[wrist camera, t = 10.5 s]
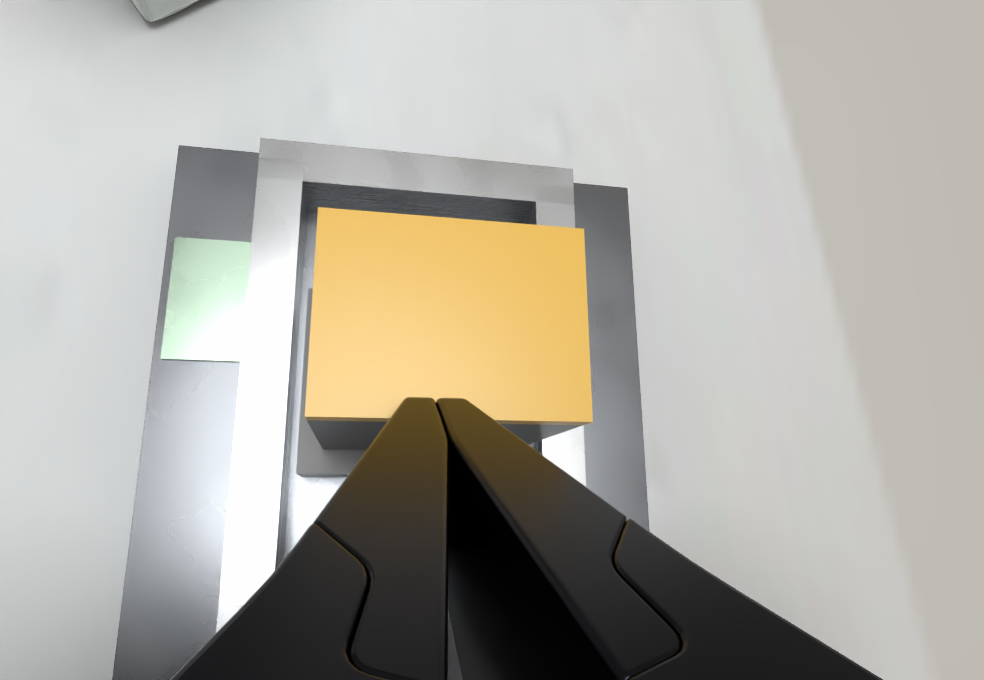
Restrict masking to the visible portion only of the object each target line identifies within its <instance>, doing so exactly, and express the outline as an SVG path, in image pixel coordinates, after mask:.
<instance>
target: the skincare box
mask: <svg viewBox="0 0 984 680" xmlns="http://www.w3.org/2000/svg"><path fill="white" fill-rule="evenodd" d="M131 1H132V2H133V4H134V5H135V6H136V8H137V9H138V10H139V12H140V13H141V14H142V16H143V17H144V18H145V19H146V20H147V21H149V22H154V21H157V20H160V19H163V18H165V17H167V16H170V15H172V14H174V13H176V12H178V11H180V10H182V9H184V8H186V7H188V6H189V5H191V4H193V3H195V2H197V1H199V0H131Z"/></svg>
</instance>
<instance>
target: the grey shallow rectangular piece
mask: <svg viewBox="0 0 984 680" xmlns="http://www.w3.org/2000/svg"><path fill="white" fill-rule="evenodd" d="M318 207H323V208H335V209H348V210H360V211H372V212H385V213H397V214H409V215H422V216H434V217H446V218H459V219H471V220H483V221H496V222H508V223H520V224H533V225H545V226H557V227H570V228H582V229H584V239H585V260H586V282H587V304H588V326H589V348H590V369H591V391H592V413H593V422H591V423H588V424H586V425H583V426H580V427H577V428H574V429H571V430H568V431H566V432H563V433H560V434H557V435H554V436H551V437H548V438H546V439H543V440H540V441H537V442H534V443H532V448H534V449H535V450H536V451H538V452H539V453H540V454H542V455H543V456H545V457H546V458H547V459H549V460H550V461H551V462H553V463H554V464H555V465H557V466H558V467H560V468H561V469H562V470H564V471H565V472H566V473H568V474H569V475H571V476H572V477H573V478H575V479H576V480H577V481H579V482H580V483H582V484H583V485H584V486H586V487H587V488H588V489H590V490H591V491H592V492H594V493H595V494H597V495H598V496H599V497H601V498H602V499H603V500H605V501H606V502H608V503H609V504H610V505H612V506H613V507H614V508H616V509H617V510H619V511H620V512H621V513H623V514H624V515H625V516H626V517H627V520H628V519H633V520H634V521H635V522H637V523H638V524H640V525H641V526H642V527H644V528H645V529H646V530H648V531H649V518H648V503H647V487H646V472H645V456H644V441H643V425H642V410H641V394H640V379H639V363H638V348H637V332H636V317H635V302H634V286H633V271H632V255H631V240H630V224H629V209H628V193H627V188H621V187H610V186H600V185H589V184H579V183H573V169H567V168H557V167H547V166H537V165H527V164H517V163H507V162H497V161H487V160H477V159H467V158H457V157H447V156H436V155H426V154H416V153H406V152H396V151H386V150H376V149H366V148H356V147H346V146H336V145H326V144H316V143H306V142H296V141H286V140H276V139H266V138H261V140H260V151H259V153H254V152H244V151H233V150H223V149H212V148H202V147H191V146H181V145H179V149H178V157H177V165H176V173H175V181H174V189H173V197H172V205H171V213H170V221H169V229H168V237H167V245H166V253H165V261H164V269H163V277H162V285H161V293H160V301H159V309H158V317H157V325H156V333H155V341H154V349H153V357H152V365H151V373H150V381H149V389H148V397H147V405H146V413H145V422H144V430H143V438H142V446H141V454H140V462H139V470H138V478H137V486H136V494H135V502H134V510H133V518H132V526H131V534H130V542H129V550H128V558H127V566H126V574H125V582H124V590H123V598H122V606H121V614H120V622H119V630H118V638H117V646H116V654H115V662H114V670H113V678H112V680H170V679H171V678H172V677H173V676H174V675H175V674H176V673H177V672H178V671H179V670H180V669H181V668H182V667H183V666H184V665H185V664H186V663H187V662H188V661H189V660H190V659H191V658H192V657H193V656H194V655H195V654H196V653H197V652H198V651H199V650H200V649H201V648H202V647H203V646H204V645H205V644H206V643H207V642H208V641H209V640H210V639H211V638H212V637H213V636H214V634H215V633H216V632H217V631H218V630H219V629H220V628H221V627H222V626H223V625H224V624H225V623H226V622H227V621H228V620H229V619H230V618H231V617H232V616H233V615H234V614H235V613H236V612H237V611H238V610H239V609H240V608H241V607H242V606H243V605H244V604H245V603H246V602H247V600H248V599H249V598H250V597H251V596H252V595H253V594H254V593H255V592H256V591H257V590H258V589H259V588H260V587H261V586H262V584H263V583H264V582H265V581H266V580H267V579H268V578H269V577H270V576H271V575H272V573H273V572H274V571H275V570H276V568H277V567H278V566H279V565H280V563H281V562H282V561H283V560H284V558H285V557H286V556H287V555H288V554H289V552H290V551H291V550H292V549H293V547H294V546H295V545H296V543H297V542H298V541H299V539H300V538H301V537H302V535H303V534H304V533H305V531H306V530H307V528H308V527H309V526H310V525H312V524H313V522H314V520H315V519H316V518H317V516H318V515H319V514H320V512H321V511H322V510H323V508H324V507H325V506H326V504H327V503H328V502H329V500H330V499H331V497H332V496H333V495H334V493H335V492H336V491H337V489H338V488H339V487H340V485H341V484H342V483H343V481H344V480H345V479H346V477H301V476H299V475H297V474H296V466H297V450H298V435H299V420H300V405H301V390H302V374H303V359H304V344H305V329H306V314H307V299H308V288H313V278H314V262H315V247H316V231H317V216H318ZM448 680H463V679H462V674H461V669H460V665H459V660H458V655H457V650H456V646H455V641H454V636H453V631H452V627H451V622H450V617H449V612H448Z"/></svg>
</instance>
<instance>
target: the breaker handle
mask: <svg viewBox="0 0 984 680" xmlns="http://www.w3.org/2000/svg"><path fill="white" fill-rule="evenodd" d="M407 397H426V398H433V399H434V400H435V402H436V401H437V400H438V399H439V398H463V399H466V400H468V401H469V402H470V403H472V404H473V405H475V406H476V407H477V408H479V409H480V410H481V411H483V412H484V413H486V414H487V415H488V416H490V417H491V418H492V419H494V420H495V421H497V422H498V423H499V424H501V425H502V426H503V427H505V428H506V429H507V430H509V431H510V432H512V433H513V434H514V435H516V436H517V437H518V438H520V439H521V440H523V441H524V442H525V443H527V444H528V445H529V446H531V447H532V443H534V442H537V441H540V440H543V439H546V438H548V437H551V436H554V435H557V434H560V433H563V432H566V431H568V430H571V429H574V428H577V427H580V426H583V425H586V424H588V423H591V422H593V413H592V391H591V369H590V348H589V326H588V304H587V282H586V260H585V239H584V229H582V228H570V227H557V226H545V225H533V224H520V223H508V222H496V221H483V220H471V219H459V218H446V217H434V216H422V215H409V214H397V213H385V212H372V211H360V210H348V209H335V208H323V207H318V216H317V231H316V247H315V262H314V278H313V288H308V299H307V314H306V329H305V344H304V359H303V374H302V390H301V405H300V420H299V435H298V450H297V466H296V474H297V475H299V476H301V477H347V476H348V474H349V473H350V472H351V470H352V469H353V468H354V466H355V465H356V464H357V462H358V461H359V460H360V458H361V457H362V456H363V454H364V453H365V451H366V450H367V449H368V447H369V446H370V445H371V443H372V442H373V441H374V439H375V438H376V437H377V435H378V434H379V433H380V431H381V430H382V428H383V427H384V426H385V424H386V423H387V422H388V420H389V419H390V418H391V416H392V415H393V414H394V412H395V411H396V410H397V408H398V407H399V405H400V404H401V403H402V401H403V400H404V399H405V398H407Z"/></svg>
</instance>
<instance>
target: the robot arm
mask: <svg viewBox="0 0 984 680" xmlns="http://www.w3.org/2000/svg"><path fill="white" fill-rule="evenodd" d="M448 612H449V617H450V622H451V627H452V631H453V636H454V641H455V646H456V650H457V655H458V660H459V665H460V669H461V674H462V679H463V680H883V679H881V678H879V677H878V676H876V675H874V674H873V673H871V672H870V671H868V670H866V669H865V668H863V667H861V666H860V665H858V664H857V663H855V662H853V661H852V660H850V659H848V658H847V657H845V656H844V655H842V654H840V653H839V652H837V651H835V650H834V649H832V648H831V647H829V646H827V645H826V644H824V643H822V642H821V641H819V640H817V639H816V638H814V637H813V636H811V635H809V634H808V633H806V632H804V631H803V630H801V629H800V628H798V627H796V626H795V625H793V624H791V623H790V622H788V621H787V620H785V619H783V618H782V617H780V616H778V615H777V614H775V613H774V612H772V611H770V610H769V609H767V608H765V607H764V606H762V605H761V604H759V603H757V602H756V601H754V600H752V599H751V598H749V597H747V596H746V595H744V594H743V593H741V592H739V591H738V590H736V589H735V588H733V587H731V586H730V585H728V584H727V583H725V582H724V581H722V580H720V579H719V578H717V577H716V576H714V575H713V574H711V573H709V572H708V571H706V570H705V569H703V568H702V567H700V566H698V565H697V564H695V563H694V562H692V561H691V560H689V559H688V558H686V557H685V556H683V555H682V554H681V553H679V552H678V551H676V550H675V549H673V548H672V547H671V546H669V545H668V544H666V543H665V542H663V541H662V540H660V539H659V538H658V537H656V536H655V535H653V534H652V533H651V532H649V531H648V530H646V529H645V528H644V527H642V526H641V525H640V524H638V523H637V522H635V521H634V520H633V519H628V520H627V517H626V516H625V515H624V514H623V513H621V512H620V511H619V510H617V509H616V508H614V507H613V506H612V505H610V504H609V503H608V502H606V501H605V500H603V499H602V498H601V497H599V496H598V495H597V494H595V493H594V492H592V491H591V490H590V489H588V488H587V487H586V486H584V485H583V484H582V483H580V482H579V481H577V480H576V479H575V478H573V477H572V476H571V475H569V474H568V473H566V472H565V471H564V470H562V469H561V468H560V467H558V466H557V465H555V464H554V463H553V462H551V461H550V460H549V459H547V458H546V457H545V456H543V455H542V454H540V453H539V452H538V451H536V450H535V449H534V448H532V447H531V446H529V445H528V444H527V443H525V442H524V441H523V440H521V439H520V438H518V437H517V436H516V435H514V434H513V433H512V432H510V431H509V430H507V429H506V428H505V427H503V426H502V425H501V424H499V423H498V422H497V421H495V420H494V419H492V418H491V417H490V416H488V415H487V414H486V413H484V412H483V411H481V410H480V409H479V408H477V407H476V406H475V405H473V404H472V403H470V402H469V401H468V400H466V399H463V398H439V399H438V400H437V401H436V402H435V400H434V399H433V398H426V397H407V398H405V399H404V400H403V401H402V403H401V404H400V405H399V407H398V408H397V410H396V411H395V412H394V414H393V415H392V416H391V418H390V419H389V420H388V422H387V423H386V424H385V426H384V427H383V428H382V430H381V431H380V433H379V434H378V435H377V437H376V438H375V439H374V441H373V442H372V443H371V445H370V446H369V447H368V449H367V450H366V451H365V453H364V454H363V456H362V457H361V458H360V460H359V461H358V462H357V464H356V465H355V466H354V468H353V469H352V470H351V472H350V473H349V474H348V476H347V477H346V479H345V480H344V481H343V483H342V484H341V485H340V487H339V488H338V489H337V491H336V492H335V493H334V495H333V496H332V497H331V499H330V500H329V502H328V503H327V504H326V506H325V507H324V508H323V510H322V511H321V512H320V514H319V515H318V516H317V518H316V519H315V520H314V522H313V524H312V525H310V526H309V527H308V528H307V530H306V531H305V533H304V534H303V535H302V537H301V538H300V539H299V541H298V542H297V543H296V545H295V546H294V547H293V549H292V550H291V551H290V552H289V554H288V555H287V556H286V557H285V558H284V560H283V561H282V562H281V563H280V565H279V566H278V567H277V568H276V570H275V571H274V572H273V573H272V575H271V576H270V577H269V578H268V579H267V580H266V581H265V582H264V583H263V584H262V586H261V587H260V588H259V589H258V590H257V591H256V592H255V593H254V594H253V595H252V596H251V597H250V598H249V599H248V600H247V602H246V603H245V604H244V605H243V606H242V607H241V608H240V609H239V610H238V611H237V612H236V613H235V614H234V615H233V616H232V617H231V618H230V619H229V620H228V621H227V622H226V623H225V624H224V625H223V626H222V627H221V628H220V629H219V630H218V631H217V632H216V633H215V634H214V636H213V637H212V638H211V639H210V640H209V641H208V642H207V643H206V644H205V645H204V646H203V647H202V648H201V649H200V650H199V651H198V652H197V653H196V654H195V655H194V656H193V657H192V658H191V659H190V660H189V661H188V662H187V663H186V664H185V665H184V666H183V667H182V668H181V669H180V670H179V671H178V672H177V673H176V674H175V675H174V676H173V677H172V678H171V679H170V680H448Z"/></svg>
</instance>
